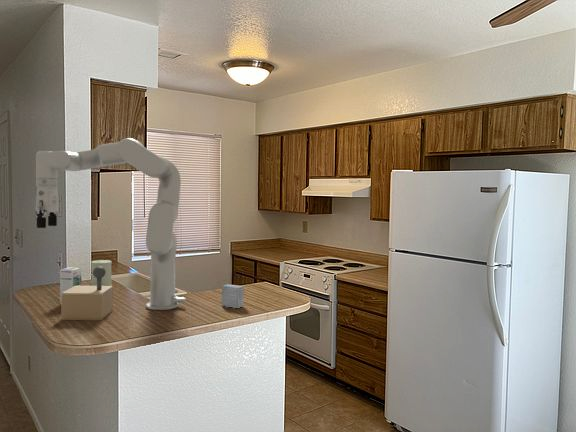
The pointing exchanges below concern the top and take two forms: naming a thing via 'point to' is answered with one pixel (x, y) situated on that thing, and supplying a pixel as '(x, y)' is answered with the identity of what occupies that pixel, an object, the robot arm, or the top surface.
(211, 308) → the top surface
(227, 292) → the medicine box
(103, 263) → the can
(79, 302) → the wooden box
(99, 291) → the lid
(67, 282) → the syrup box
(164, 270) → the robot arm
